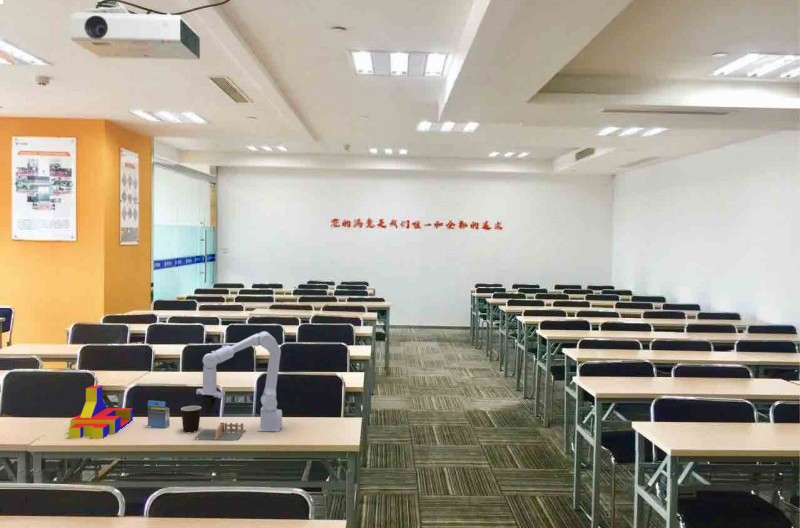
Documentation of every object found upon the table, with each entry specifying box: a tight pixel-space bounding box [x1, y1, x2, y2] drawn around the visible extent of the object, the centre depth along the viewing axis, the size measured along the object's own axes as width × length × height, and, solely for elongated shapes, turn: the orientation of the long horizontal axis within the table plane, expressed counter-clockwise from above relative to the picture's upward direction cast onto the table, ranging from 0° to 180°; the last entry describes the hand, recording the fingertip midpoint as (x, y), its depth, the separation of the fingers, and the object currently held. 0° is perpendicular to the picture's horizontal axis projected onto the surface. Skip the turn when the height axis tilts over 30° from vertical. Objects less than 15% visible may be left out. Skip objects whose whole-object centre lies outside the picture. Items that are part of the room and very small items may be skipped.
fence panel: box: [216, 423, 223, 439], centre depth 250 cm, size 8×1×4 cm, turn 4°
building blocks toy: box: [68, 385, 134, 440], centre depth 257 cm, size 19×25×18 cm
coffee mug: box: [180, 405, 202, 433], centre depth 260 cm, size 12×9×10 cm
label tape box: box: [147, 400, 171, 428], centre depth 263 cm, size 9×4×12 cm, turn 82°
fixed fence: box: [219, 422, 244, 433], centre depth 255 cm, size 10×2×4 cm, turn 90°
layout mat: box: [194, 428, 247, 441], centre depth 252 cm, size 19×14×1 cm
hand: (209, 412), depth 253 cm, fingers closed
